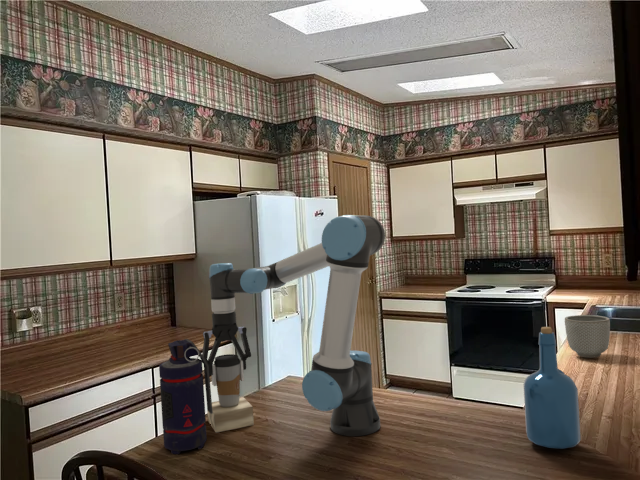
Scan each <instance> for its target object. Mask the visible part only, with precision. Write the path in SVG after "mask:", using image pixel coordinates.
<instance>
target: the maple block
mask: <svg viewBox="0 0 640 480" xmlns="http://www.w3.org/2000/svg"><path fill="white" fill-rule="evenodd" d="M212 411H213V413H212V414H211V413H210V412H209V411H208V410H207V421H208V423H209V425H210V424H211V425H210V426H211V427H212V430H213V431H214V432H215V433H220V432H225V431H230V430H236V429H240V428H245V427H249V426H254V425H255V422H254V419H255V418H254V408H253V405H252V404H251V403H250V402H249V401H248V400H247V399H246V398H245V397H244V396H239V403H238V404H237V405H235V406H230V407H223V406H221V405H220V404H219V400H216V401H212Z"/></svg>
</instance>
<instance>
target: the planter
mask: <svg viewBox="0 0 640 480" xmlns="http://www.w3.org/2000/svg"><path fill="white" fill-rule="evenodd" d="M564 326H565V334H566V340H567V343H568V346H569V348H570V349H571V350H572V351H574V353H576V354H577V356H579V357H582V358H588V359H589V358H590V359H592V358H599V357H601V356H602V354H603V353H604V352H606V351H607V350H608V348H609V345H610V338H611V337H610V336H611V335H610V334H611V333H610V331H611V321H610V318H609V317H607V316H604V315H603V316H602V315H593V314H591V315H590V314H586V315H585V314H580V315H570V316H566V317H564Z"/></svg>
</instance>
